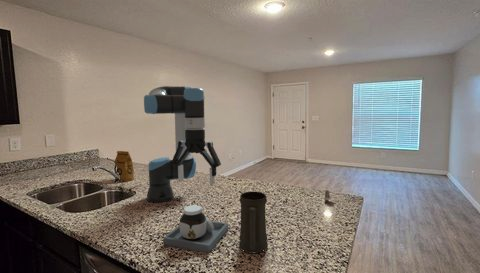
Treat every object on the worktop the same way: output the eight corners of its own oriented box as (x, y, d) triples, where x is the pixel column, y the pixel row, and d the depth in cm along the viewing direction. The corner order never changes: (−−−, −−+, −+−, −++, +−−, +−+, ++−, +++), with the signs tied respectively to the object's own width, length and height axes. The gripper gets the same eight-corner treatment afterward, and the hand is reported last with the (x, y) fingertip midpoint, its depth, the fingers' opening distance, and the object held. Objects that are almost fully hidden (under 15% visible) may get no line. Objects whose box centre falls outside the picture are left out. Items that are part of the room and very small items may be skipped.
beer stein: (237, 238, 101) (237, 190, 98) (264, 237, 102) (265, 189, 99) (241, 263, 86) (241, 208, 83) (272, 261, 87) (273, 206, 84)
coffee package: (125, 182, 184) (123, 152, 182) (113, 180, 190) (111, 151, 187) (136, 179, 193) (134, 150, 191) (125, 177, 198) (123, 149, 196)
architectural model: (331, 201, 143) (331, 188, 142) (331, 205, 137) (331, 192, 136) (325, 200, 144) (325, 188, 144) (324, 205, 138) (324, 191, 137)
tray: (163, 245, 97) (163, 237, 96) (188, 224, 115) (188, 217, 114) (209, 253, 91) (209, 245, 91) (228, 230, 109) (228, 223, 109)
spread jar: (177, 239, 100) (176, 210, 98) (191, 227, 110) (190, 200, 109) (205, 244, 96) (204, 214, 95) (217, 230, 107) (216, 203, 105)
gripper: (161, 129, 99) (163, 182, 101) (221, 130, 91) (222, 188, 93) (172, 127, 106) (174, 178, 108) (228, 128, 98) (229, 182, 100)
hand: (196, 182), depth 101 cm, fingers open, 13 cm apart
